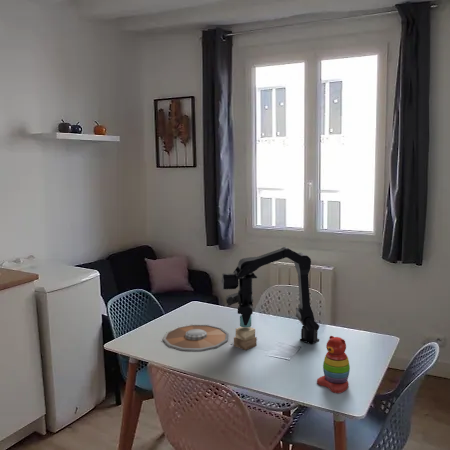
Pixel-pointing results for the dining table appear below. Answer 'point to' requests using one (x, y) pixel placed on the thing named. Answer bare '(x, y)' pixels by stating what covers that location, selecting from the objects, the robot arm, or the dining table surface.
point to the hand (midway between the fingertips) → (245, 323)
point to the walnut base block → (245, 343)
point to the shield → (196, 337)
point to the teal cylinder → (243, 322)
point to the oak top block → (245, 333)
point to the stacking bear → (335, 366)
